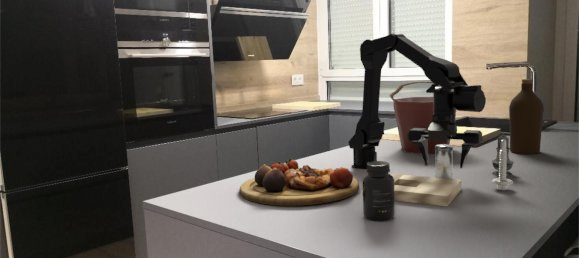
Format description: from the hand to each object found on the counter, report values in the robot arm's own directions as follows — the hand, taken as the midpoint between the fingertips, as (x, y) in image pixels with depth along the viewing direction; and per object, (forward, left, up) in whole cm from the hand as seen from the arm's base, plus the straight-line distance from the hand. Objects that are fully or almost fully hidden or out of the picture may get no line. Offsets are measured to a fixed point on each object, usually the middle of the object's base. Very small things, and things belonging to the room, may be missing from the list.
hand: (443, 166), depth 133 cm
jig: (-3, -14, -4) cm, 15 cm away
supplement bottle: (-6, -35, -4) cm, 36 cm away
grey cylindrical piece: (0, 0, -4) cm, 4 cm away
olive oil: (+16, +51, -4) cm, 54 cm away
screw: (+15, -2, -4) cm, 16 cm away
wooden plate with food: (-33, -22, -5) cm, 40 cm away
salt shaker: (+13, +15, -4) cm, 20 cm away
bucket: (-17, +45, -4) cm, 48 cm away
